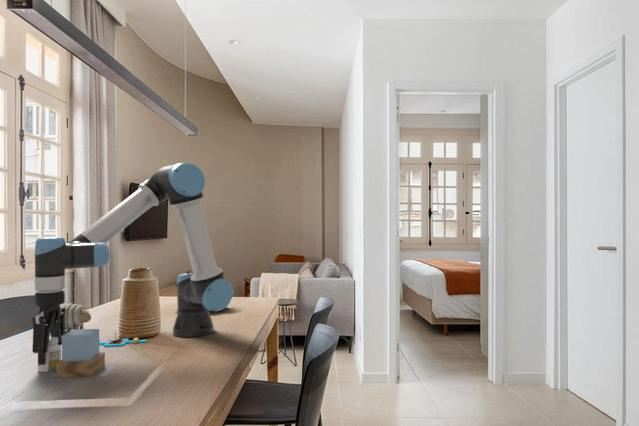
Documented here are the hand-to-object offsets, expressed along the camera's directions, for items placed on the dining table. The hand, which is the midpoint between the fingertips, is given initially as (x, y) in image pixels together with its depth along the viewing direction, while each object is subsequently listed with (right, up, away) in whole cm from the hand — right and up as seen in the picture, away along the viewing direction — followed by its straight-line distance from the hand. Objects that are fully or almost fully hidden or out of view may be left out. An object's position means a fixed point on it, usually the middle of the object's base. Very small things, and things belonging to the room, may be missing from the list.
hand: (49, 371), depth 132 cm
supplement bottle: (0, -1, 0) cm, 1 cm away
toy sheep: (-21, -2, +50) cm, 54 cm away
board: (+11, 0, -4) cm, 12 cm away
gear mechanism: (+5, -1, +32) cm, 32 cm away
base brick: (+11, +1, -4) cm, 12 cm away
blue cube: (+11, +5, -4) cm, 13 cm away
